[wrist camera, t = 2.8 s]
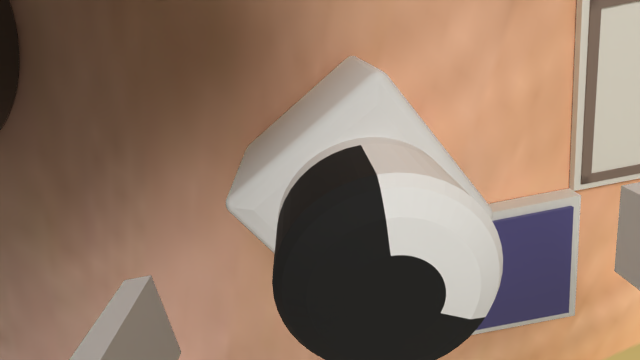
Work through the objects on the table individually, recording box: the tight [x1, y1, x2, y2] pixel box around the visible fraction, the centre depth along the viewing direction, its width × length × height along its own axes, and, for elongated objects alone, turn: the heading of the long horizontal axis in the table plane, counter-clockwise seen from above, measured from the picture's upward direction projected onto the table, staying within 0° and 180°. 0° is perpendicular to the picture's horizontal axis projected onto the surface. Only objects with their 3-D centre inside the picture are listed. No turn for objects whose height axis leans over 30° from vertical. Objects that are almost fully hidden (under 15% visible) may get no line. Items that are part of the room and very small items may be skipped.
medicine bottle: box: [226, 56, 503, 360], centre depth 16 cm, size 7×7×12 cm
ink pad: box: [472, 188, 581, 335], centre depth 23 cm, size 8×8×1 cm
